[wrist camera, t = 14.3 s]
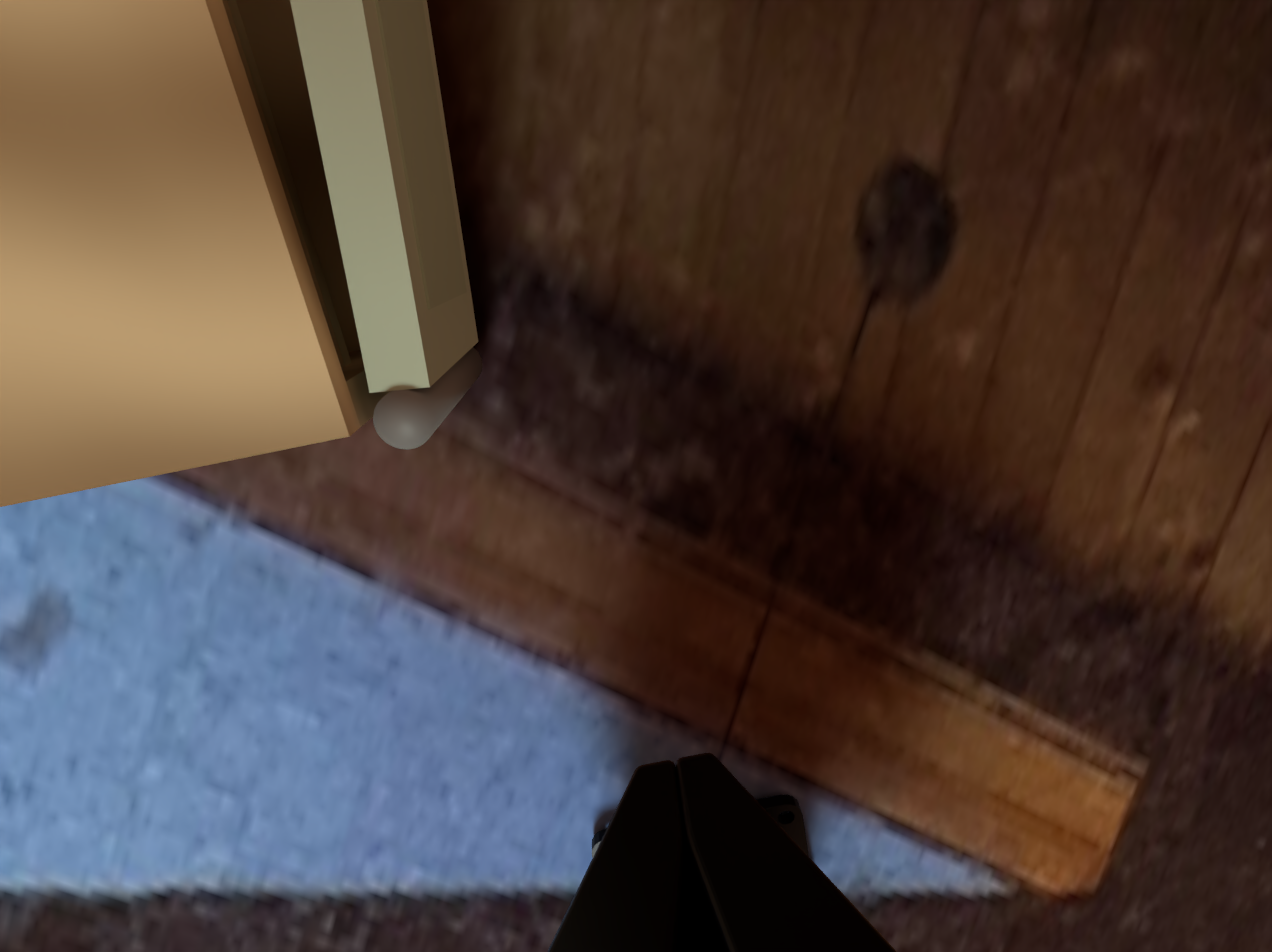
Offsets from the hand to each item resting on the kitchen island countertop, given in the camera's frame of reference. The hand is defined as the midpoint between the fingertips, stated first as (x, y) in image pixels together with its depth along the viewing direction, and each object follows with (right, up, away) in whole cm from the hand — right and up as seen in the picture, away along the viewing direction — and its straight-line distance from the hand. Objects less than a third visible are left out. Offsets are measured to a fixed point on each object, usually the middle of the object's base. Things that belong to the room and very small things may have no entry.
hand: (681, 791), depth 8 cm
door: (-5, +11, +8) cm, 15 cm away
